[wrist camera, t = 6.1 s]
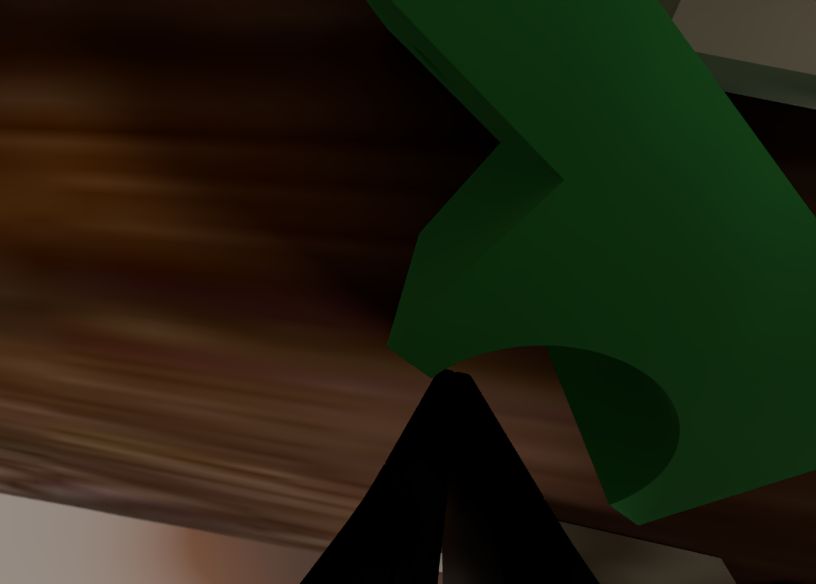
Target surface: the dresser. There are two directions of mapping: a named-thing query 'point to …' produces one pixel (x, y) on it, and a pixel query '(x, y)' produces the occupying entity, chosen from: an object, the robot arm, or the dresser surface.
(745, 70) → the slot rails
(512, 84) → the pipe clamp
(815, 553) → the dresser surface
